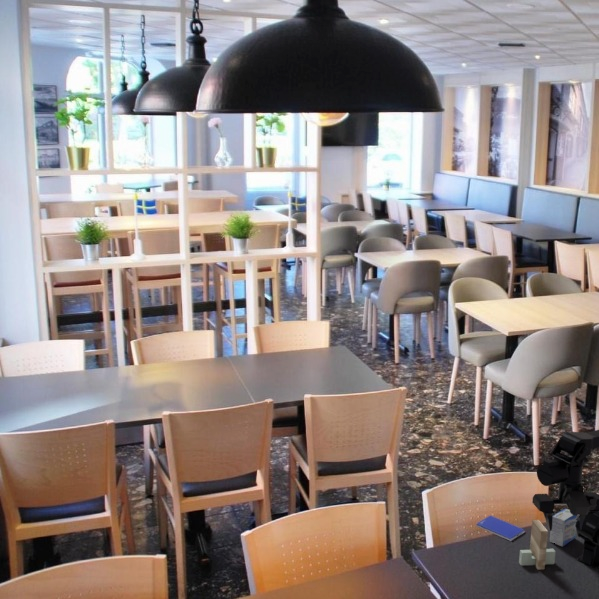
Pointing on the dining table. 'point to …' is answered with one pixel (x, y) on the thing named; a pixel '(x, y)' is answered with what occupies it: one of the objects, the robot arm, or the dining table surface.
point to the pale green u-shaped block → (528, 559)
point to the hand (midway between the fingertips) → (565, 529)
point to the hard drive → (500, 528)
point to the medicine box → (563, 528)
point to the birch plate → (538, 543)
